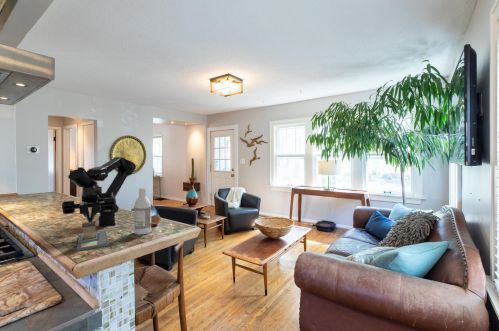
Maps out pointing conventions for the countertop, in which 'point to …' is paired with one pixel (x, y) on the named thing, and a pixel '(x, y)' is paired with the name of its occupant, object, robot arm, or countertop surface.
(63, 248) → the countertop surface
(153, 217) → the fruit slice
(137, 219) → the bath foam
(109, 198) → the robot arm
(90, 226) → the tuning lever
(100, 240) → the base
